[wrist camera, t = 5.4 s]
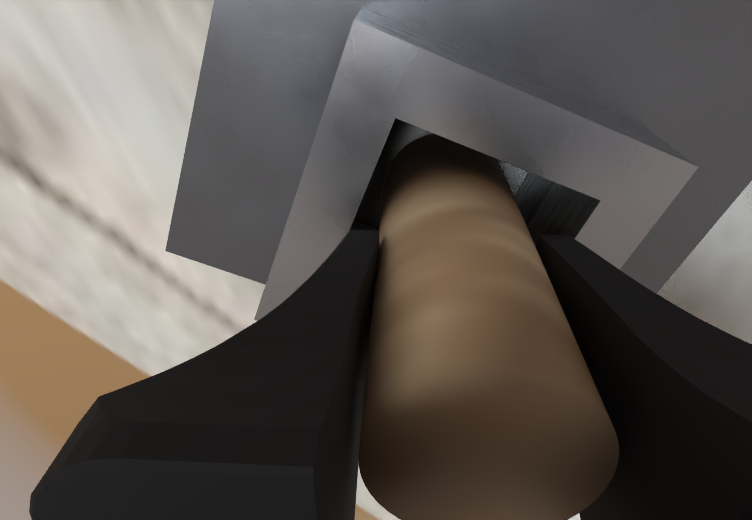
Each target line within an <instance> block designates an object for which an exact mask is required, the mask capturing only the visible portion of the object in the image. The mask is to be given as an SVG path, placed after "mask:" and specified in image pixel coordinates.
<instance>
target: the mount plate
mask: <svg viewBox="0 0 752 520" xmlns="http://www.w3.org/2000/svg"><path fill="white" fill-rule="evenodd" d="M395 118H397V119H399V120H402V121H404V122H407V123H409V124H412V125H414V126H417V127H419V128H422V129H424V130H427V131H429V132H432V133H434V134H437V135H439V136H442V137H444V138H447V139H449V140H452V141H454V142H456V143H459V144H461V145H464V146H466V147H469V148H471V149H474V150H476V151H479V152H481V153H484V154H486V155H489V156H491V157H494V158H496V159H499V160H501V161H504V162H506V163H509V164H511V165H514V166H516V167H519V168H521V169H524V170H526V171H529V173H528V174H527V176H526V178H525V180H524V181H523V183H522V185H521V186H520V188H519V190H518V192H517V193H516V195H515V197H514V198H515V201H516V203H517V205H518V208H519V210H520V212H521V215H522V217H523V219H524V221H525V224H526V226H527V228H528V231H529V233H530V235H531V238H532V240H533V242H534V245H535V247H536V243H537V238H538V235H568V236H570V237H572V238H573V239H575V240H577V241H578V242H580V243H581V244H583V245H584V246H586V247H587V248H589V249H590V250H592V251H593V252H595V253H596V254H598V255H599V256H601V257H602V258H603V259H605V260H606V261H608V262H609V263H611V264H612V265H613V266H615V267H616V268H618V269H619V270H621V271H622V272H624V273H625V274H627V275H628V276H630V277H631V278H633V279H634V280H636V281H637V282H639V283H640V284H642V285H643V286H645V287H646V288H648V289H649V290H651V291H653V292H654V293H657V292H658V291H659V290H660V289H661V287H662V286H663V285H664V284H665V283H666V281H667V280H668V279H669V278H670V277H671V275H672V274H673V273H674V272H675V271H676V269H677V268H678V267H679V266H680V265H681V264H682V262H683V261H684V260H685V259H686V258H687V256H688V255H689V254H690V253H691V252H692V250H693V249H694V248H695V247H696V246H697V245H698V243H699V242H700V241H701V240H702V239H703V237H704V236H705V235H706V234H707V233H708V231H709V230H710V229H711V228H712V227H713V226H714V224H715V223H716V222H717V221H718V220H719V218H720V217H721V216H722V215H723V214H724V212H725V211H726V210H727V209H728V208H729V206H730V205H731V204H732V203H733V202H734V201H735V199H736V198H737V197H738V196H739V195H740V193H741V192H742V191H743V190H744V189H745V187H746V186H747V185H748V184H749V183H750V182H751V180H752V0H214V5H213V10H212V15H211V20H210V25H209V31H208V36H207V41H206V46H205V51H204V56H203V61H202V66H201V72H200V77H199V82H198V87H197V92H196V97H195V102H194V107H193V113H192V118H191V123H190V128H189V133H188V138H187V143H186V148H185V154H184V159H183V164H182V169H181V174H180V179H179V184H178V190H177V195H176V200H175V205H174V210H173V215H172V220H171V225H170V231H169V236H168V241H167V246H166V251H167V252H170V253H173V254H176V255H179V256H182V257H185V258H188V259H191V260H194V261H197V262H200V263H203V264H206V265H209V266H212V267H215V268H218V269H221V270H224V271H227V272H230V273H233V274H236V275H239V276H242V277H245V278H248V279H251V280H254V281H257V282H260V283H263V284H266V286H265V289H264V292H263V295H262V298H261V301H260V304H259V307H258V310H257V313H256V316H255V319H254V320H257V321H258V320H260V319H261V318H263V317H264V316H265V315H267V314H268V313H269V312H271V311H272V310H273V309H275V308H276V307H277V306H279V305H280V304H281V303H282V302H283V301H285V300H286V299H287V298H288V297H289V296H290V295H291V294H292V293H293V292H295V291H296V290H297V289H298V288H299V287H300V286H301V285H302V284H303V283H304V282H305V281H306V280H307V279H308V278H309V277H310V276H311V275H312V274H313V273H314V272H315V271H316V270H317V269H318V268H319V267H320V265H321V264H322V263H323V262H324V261H325V260H326V259H327V258H328V257H329V255H330V254H331V253H332V252H333V251H334V249H335V248H336V247H337V246H338V244H339V243H340V242H341V241H342V239H343V238H344V237H345V235H346V234H347V233H348V232H349V231H351V230H379V229H377V228H374V227H372V226H369V225H366V224H363V223H361V222H358V221H355V220H354V218H355V215H356V213H357V210H358V208H359V206H360V203H361V201H362V198H363V196H364V193H365V191H366V188H367V186H368V184H369V181H370V179H371V176H372V174H373V171H374V169H375V167H376V164H377V162H378V159H379V157H380V154H381V152H382V149H383V147H384V145H385V142H386V140H387V137H388V135H389V132H390V130H391V128H392V125H393V123H394V120H395Z"/></svg>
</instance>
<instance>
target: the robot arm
mask: <svg viewBox="0 0 752 520" xmlns="http://www.w3.org/2000/svg"><path fill="white" fill-rule="evenodd" d="M536 249H537V251H538V254H539V256H540V258H541V261H542V263H543V265H544V268H545V270H546V272H547V275H548V277H549V279H550V282H551V284H552V286H553V288H554V291H555V293H556V295H557V298H558V300H559V302H560V305H561V307H562V309H563V312H564V314H565V316H566V318H567V321H568V323H569V325H570V328H571V330H572V332H573V335H574V337H575V339H576V342H577V344H578V346H579V349H580V351H581V353H582V355H583V358H584V360H585V362H586V365H587V367H588V369H589V372H590V374H591V376H592V379H593V381H594V383H595V385H596V388H597V390H598V392H599V395H600V397H601V399H602V402H603V404H604V406H605V409H606V411H607V413H608V416H609V418H610V420H611V422H612V425H613V427H614V429H615V432H616V435H617V439H618V443H619V459H618V464H617V468H616V471H615V473H614V476H613V478H612V480H611V481H610V483H609V484H608V486H607V488H606V489H605V490H604V491H603V492H602V494H601V495H600V496H599V497H598V498H597V499H596V500H595V501H594V502H593V503H591V504H590V505H589V506H588V507H587V508H585V509H584V510H582V511H581V512H579V513H580V518H581V520H752V345H751V344H749V343H747V342H745V341H743V340H741V339H738V338H736V337H734V336H732V335H730V334H728V333H726V332H724V331H722V330H720V329H718V328H716V327H714V326H712V325H710V324H708V323H707V322H705V321H703V320H701V319H699V318H697V317H695V316H693V315H691V314H690V313H688V312H686V311H684V310H682V309H681V308H679V307H677V306H676V305H674V304H672V303H671V302H669V301H667V300H666V299H664V298H662V297H661V296H659V295H657V294H656V293H654V292H653V291H651V290H649V289H648V288H646V287H645V286H643V285H642V284H640V283H639V282H637V281H636V280H634V279H633V278H631V277H630V276H628V275H627V274H625V273H624V272H622V271H621V270H619V269H618V268H616V267H615V266H613V265H612V264H611V263H609V262H608V261H606V260H605V259H603V258H602V257H601V256H599V255H598V254H596V253H595V252H593V251H592V250H590V249H589V248H587V247H586V246H584V245H583V244H581V243H580V242H578V241H577V240H575V239H573V238H572V237H570V236H568V235H538V238H537V243H536ZM378 257H379V230H351V231H349V232H348V233H347V234H346V235H345V237H344V238H343V239H342V241H341V242H340V243H339V244H338V246H337V247H336V248H335V249H334V251H333V252H332V253H331V254H330V255H329V257H328V258H327V259H326V260H325V261H324V262H323V263H322V264H321V265H320V267H319V268H318V269H317V270H316V271H315V272H314V273H313V274H312V275H311V276H310V277H309V278H308V279H307V280H306V281H305V282H304V283H303V284H302V285H301V286H300V287H299V288H298V289H297V290H296V291H295V292H293V293H292V294H291V295H290V296H289V297H288V298H287V299H286V300H285V301H283V302H282V303H281V304H280V305H279V306H277V307H276V308H275V309H273V310H272V311H271V312H269V313H268V314H267V315H265V316H264V317H263V318H261V319H260V320H258V321H257V322H255V323H254V324H252V325H251V326H249V327H247V328H246V329H244V330H242V331H241V332H239V333H237V334H236V335H234V336H233V337H231V338H229V339H228V340H226V341H224V342H223V343H221V344H219V345H217V346H216V347H214V348H212V349H210V350H208V351H206V352H204V353H202V354H200V355H198V356H196V357H194V358H192V359H190V360H188V361H186V362H184V363H182V364H179V365H177V366H175V367H173V368H171V369H168V370H166V371H164V372H162V373H159V374H157V375H154V376H152V377H149V378H146V379H144V380H141V381H139V382H136V383H134V384H131V385H128V386H126V387H123V388H121V389H118V390H116V391H113V392H110V393H108V394H104V395H102V396H99V397H98V398H97V400H96V401H95V402H94V404H93V405H92V406H91V407H90V409H89V410H88V411H87V413H86V414H85V415H84V417H83V418H82V419H81V421H80V422H79V423H78V424H77V426H76V428H75V429H74V431H73V432H72V434H71V435H70V437H69V438H68V440H67V441H66V443H65V444H64V446H63V447H62V449H61V450H60V452H59V453H58V455H57V456H56V458H55V459H54V461H53V462H52V464H51V465H50V467H49V468H48V470H47V471H46V473H45V474H44V476H43V477H42V479H41V480H40V482H39V483H38V485H37V486H36V488H35V489H34V491H33V492H32V494H31V499H30V510H29V512H30V515H31V518H32V520H354V516H355V503H356V489H357V475H358V462H359V445H360V434H361V423H362V413H363V402H364V391H365V380H366V369H367V358H368V347H369V336H370V326H371V315H372V305H373V297H374V289H375V283H376V277H377V269H378Z"/></svg>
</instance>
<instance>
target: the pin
mask: <svg viewBox="0 0 752 520" xmlns="http://www.w3.org/2000/svg"><path fill="white" fill-rule="evenodd" d="M618 459H619V443H618V439H617V435H616V432H615V429H614V427H613V425H612V422H611V420H610V418H609V416H608V413H607V411H606V409H605V406H604V404H603V402H602V399H601V397H600V395H599V392H598V390H597V388H596V385H595V383H594V381H593V379H592V376H591V374H590V372H589V369H588V367H587V365H586V362H585V360H584V358H583V355H582V353H581V351H580V349H579V346H578V344H577V342H576V339H575V337H574V335H573V332H572V330H571V328H570V325H569V323H568V321H567V318H566V316H565V314H564V312H563V309H562V307H561V305H560V302H559V300H558V298H557V295H556V293H555V291H554V288H553V286H552V284H551V282H550V279H549V277H548V275H547V272H546V270H545V268H544V265H543V263H542V261H541V258H540V256H539V254H538V251H537V249H536V247H535V245H534V242H533V240H532V238H531V235H530V233H529V231H528V228H527V226H526V224H525V221H524V219H523V217H522V215H521V212H520V210H519V208H518V205H517V203H516V201H515V198H514V196H513V194H512V191H511V189H510V187H509V185H508V182H507V180H506V178H505V175H504V173H503V171H502V168H501V166H500V164H499V162H498V160H497V159H496V158H494V157H491V156H489V155H486V154H484V153H481V152H479V151H476V150H474V149H471V148H469V147H466V146H464V145H461V144H459V143H456V142H454V141H452V140H449V139H447V138H444V137H442V136H439V135H437V134H430V135H426V136H424V137H421V138H419V139H417V140H415V141H413V142H411V143H410V144H408V145H407V146H405V147H404V148H403V149H402V150H401V151H400V152H399V153H398V154H397V155H396V157H395V158H394V159H393V161H392V162H391V164H390V166H389V168H388V170H387V172H386V176H385V179H384V185H383V195H382V206H381V217H380V228H379V257H378V269H377V277H376V283H375V289H374V297H373V305H372V315H371V326H370V336H369V347H368V358H367V369H366V380H365V391H364V402H363V413H362V423H361V434H360V445H359V469H360V473H361V477H362V479H363V482H364V484H365V486H366V488H367V489H368V491H369V492H370V494H371V495H372V496H373V497H374V499H375V500H376V501H377V502H378V503H379V504H380V505H381V506H382V507H384V508H385V509H386V510H387V511H388V512H390V513H391V514H393V515H394V516H396V517H397V518H399V519H401V520H567V519H569V518H571V517H573V516H575V515H576V514H578V513H579V512H581V511H582V510H584V509H585V508H587V507H588V506H589V505H590V504H591V503H593V502H594V501H595V500H596V499H597V498H598V497H599V496H600V495H601V494H602V492H603V491H604V490H605V489H606V488H607V486H608V484H609V483H610V481H611V480H612V478H613V476H614V473H615V471H616V468H617V464H618Z"/></svg>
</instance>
